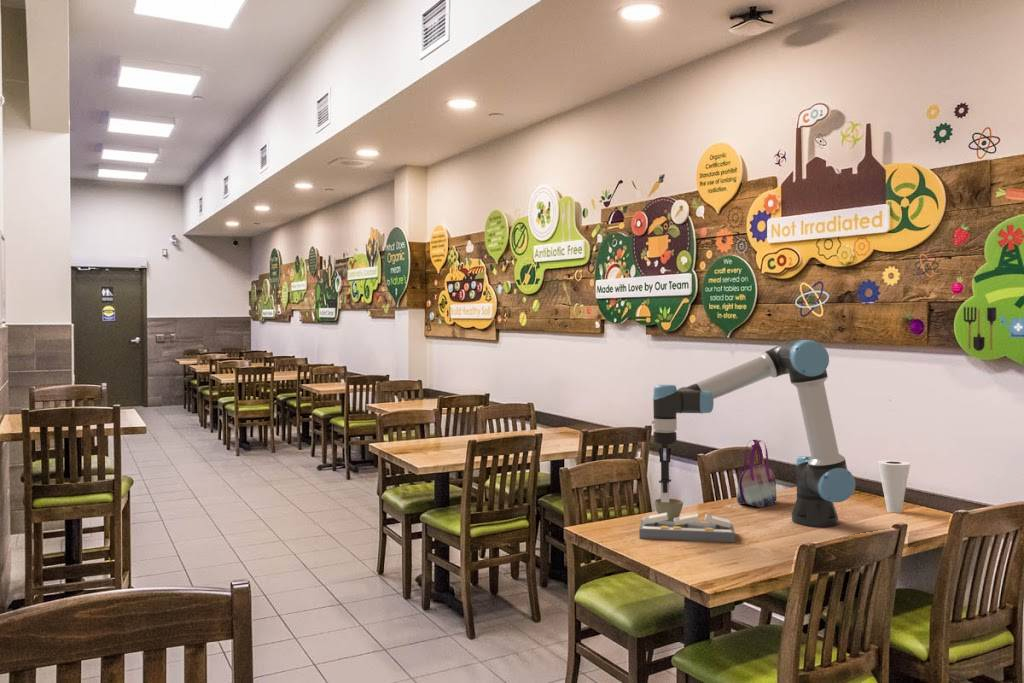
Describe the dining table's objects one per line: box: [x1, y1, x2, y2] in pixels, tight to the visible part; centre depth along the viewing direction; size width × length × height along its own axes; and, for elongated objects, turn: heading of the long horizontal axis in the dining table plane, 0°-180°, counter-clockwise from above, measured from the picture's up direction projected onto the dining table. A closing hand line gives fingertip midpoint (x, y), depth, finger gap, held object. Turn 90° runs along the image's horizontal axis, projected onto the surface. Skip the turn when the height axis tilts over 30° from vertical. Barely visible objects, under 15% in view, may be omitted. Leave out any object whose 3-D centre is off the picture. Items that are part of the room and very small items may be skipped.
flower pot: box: [653, 497, 684, 522], centre depth 266 cm, size 10×10×7 cm
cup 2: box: [877, 459, 911, 514], centre depth 276 cm, size 11×11×18 cm
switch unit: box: [638, 519, 736, 543], centre depth 246 cm, size 30×12×4 cm, turn 77°
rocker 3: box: [704, 513, 732, 528], centre depth 245 cm, size 8×4×2 cm, turn 77°
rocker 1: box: [642, 513, 668, 524], centre depth 250 cm, size 8×4×2 cm, turn 77°
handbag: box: [736, 439, 777, 508], centre depth 291 cm, size 21×10×25 cm, turn 125°
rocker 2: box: [674, 513, 700, 526], centre depth 247 cm, size 8×4×2 cm, turn 77°
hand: (665, 501), depth 249 cm, fingers closed
